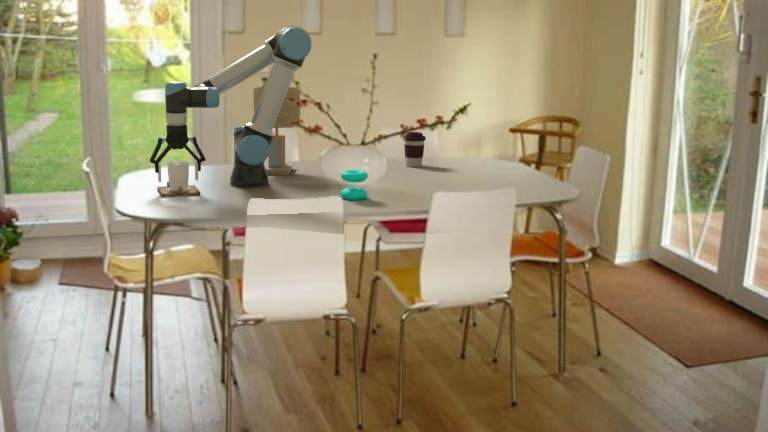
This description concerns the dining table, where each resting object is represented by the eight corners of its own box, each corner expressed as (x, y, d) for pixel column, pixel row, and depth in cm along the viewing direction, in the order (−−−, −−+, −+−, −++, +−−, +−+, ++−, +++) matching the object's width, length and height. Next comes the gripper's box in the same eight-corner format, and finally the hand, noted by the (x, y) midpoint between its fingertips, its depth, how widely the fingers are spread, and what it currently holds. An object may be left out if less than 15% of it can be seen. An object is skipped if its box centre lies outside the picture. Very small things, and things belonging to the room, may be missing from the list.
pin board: (194, 188, 347) (194, 179, 347) (200, 195, 335) (200, 186, 334) (157, 189, 343) (157, 181, 342) (161, 197, 330) (161, 188, 329)
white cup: (168, 191, 334) (167, 164, 331) (167, 187, 341) (166, 161, 339) (190, 190, 336) (189, 164, 333) (188, 186, 343) (188, 160, 341)
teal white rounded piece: (345, 168, 340) (371, 170, 338) (345, 194, 343) (370, 196, 340) (337, 172, 331) (363, 174, 328) (337, 199, 333) (362, 201, 331)
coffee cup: (400, 166, 404) (401, 133, 400) (406, 163, 413) (407, 130, 410) (421, 168, 401) (422, 134, 398) (427, 165, 410) (428, 132, 407)
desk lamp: (297, 176, 376) (297, 91, 368) (250, 175, 376) (249, 90, 368) (302, 168, 395) (302, 87, 387) (257, 167, 395) (257, 86, 387)
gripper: (208, 122, 340) (210, 177, 345) (140, 123, 332) (143, 180, 337) (212, 124, 334) (213, 180, 338) (142, 126, 325) (145, 184, 330)
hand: (178, 180), depth 338 cm, fingers open, 13 cm apart
